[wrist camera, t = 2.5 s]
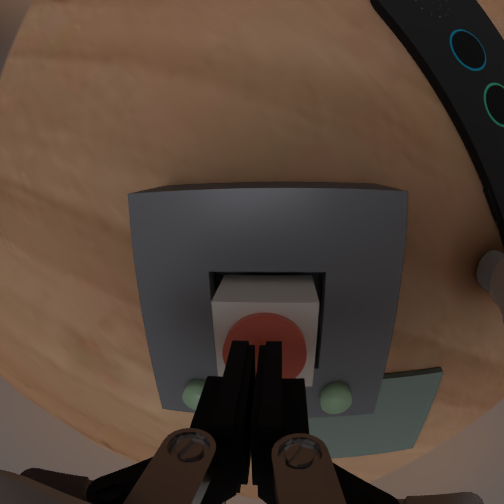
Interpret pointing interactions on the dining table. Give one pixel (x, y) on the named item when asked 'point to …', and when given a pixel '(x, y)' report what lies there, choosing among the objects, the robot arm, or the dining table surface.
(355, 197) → the grey button control box
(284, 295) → the button
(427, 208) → the dining table surface
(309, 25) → the dining table surface
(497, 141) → the smart home device
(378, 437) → the mat
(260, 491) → the robot arm
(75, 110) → the dining table surface
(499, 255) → the light bulb
